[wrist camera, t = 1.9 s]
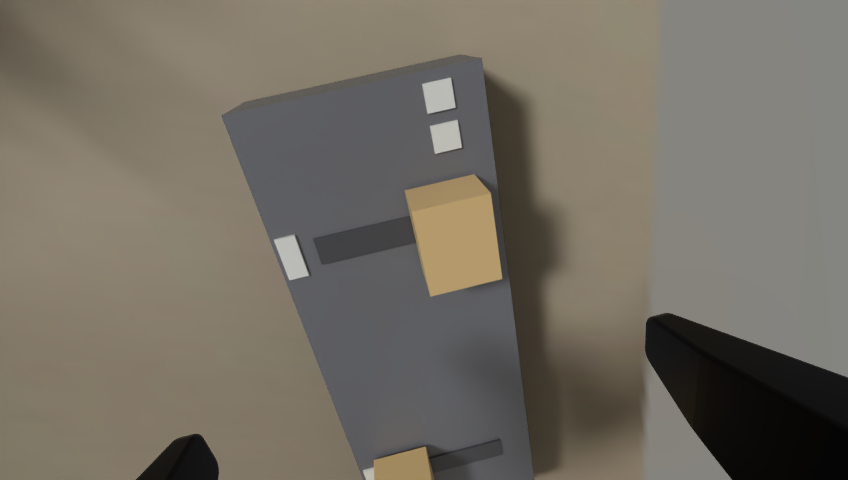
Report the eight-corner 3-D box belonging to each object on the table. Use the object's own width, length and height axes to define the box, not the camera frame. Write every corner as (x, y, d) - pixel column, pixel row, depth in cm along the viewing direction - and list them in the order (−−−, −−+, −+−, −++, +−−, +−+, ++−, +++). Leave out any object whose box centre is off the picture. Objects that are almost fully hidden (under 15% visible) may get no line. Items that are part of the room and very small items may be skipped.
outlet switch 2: (485, 252, 16) (502, 278, 14) (421, 267, 16) (430, 296, 14) (474, 174, 15) (490, 193, 13) (404, 190, 15) (411, 212, 13)
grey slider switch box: (518, 454, 26) (538, 505, 23) (384, 490, 25) (388, 546, 23) (460, 54, 16) (482, 58, 13) (244, 102, 16) (220, 116, 13)
